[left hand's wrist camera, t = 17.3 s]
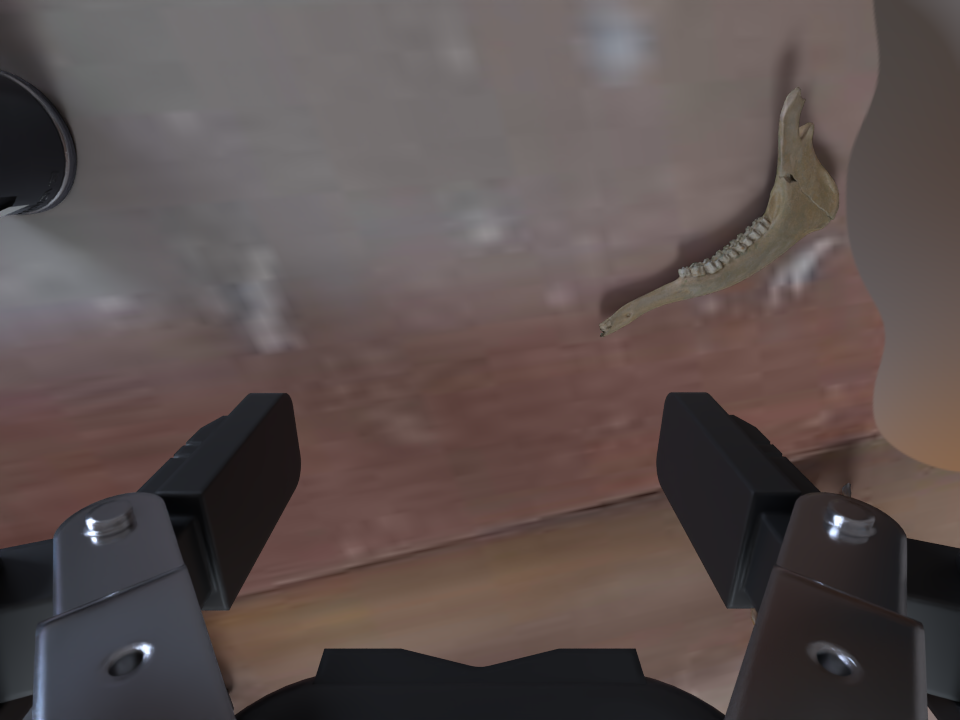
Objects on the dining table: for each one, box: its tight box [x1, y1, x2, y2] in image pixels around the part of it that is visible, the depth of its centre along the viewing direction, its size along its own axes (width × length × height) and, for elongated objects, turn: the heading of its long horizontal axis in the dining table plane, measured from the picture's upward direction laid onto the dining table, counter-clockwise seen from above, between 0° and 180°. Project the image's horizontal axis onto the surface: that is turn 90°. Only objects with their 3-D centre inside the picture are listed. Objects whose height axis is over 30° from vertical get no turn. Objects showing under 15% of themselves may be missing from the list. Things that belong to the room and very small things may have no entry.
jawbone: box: [599, 87, 839, 337], centre depth 38 cm, size 9×20×2 cm, turn 147°
